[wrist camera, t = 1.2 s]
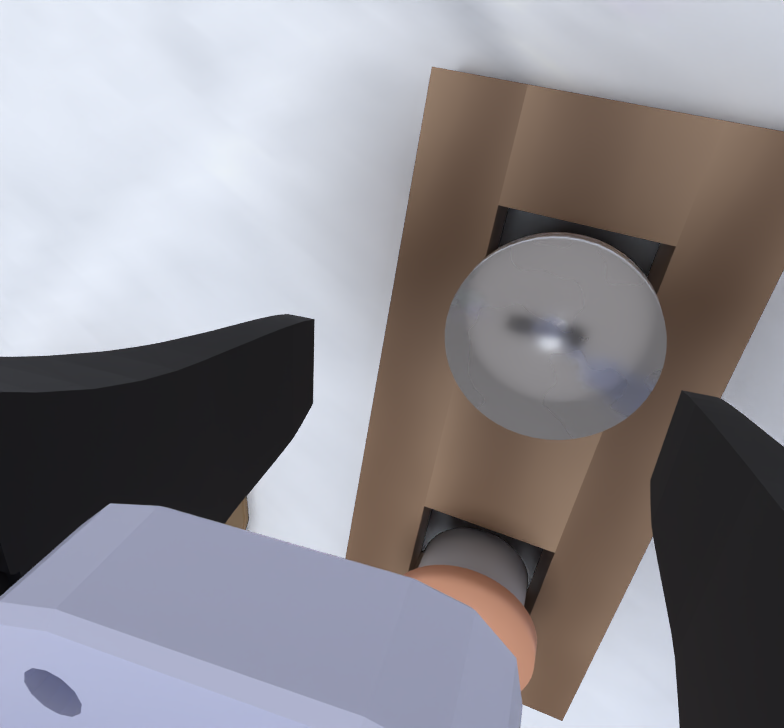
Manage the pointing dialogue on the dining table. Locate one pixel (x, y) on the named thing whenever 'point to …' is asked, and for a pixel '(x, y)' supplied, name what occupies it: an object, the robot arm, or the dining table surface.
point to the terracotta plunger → (484, 586)
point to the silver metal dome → (556, 336)
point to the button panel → (573, 456)
